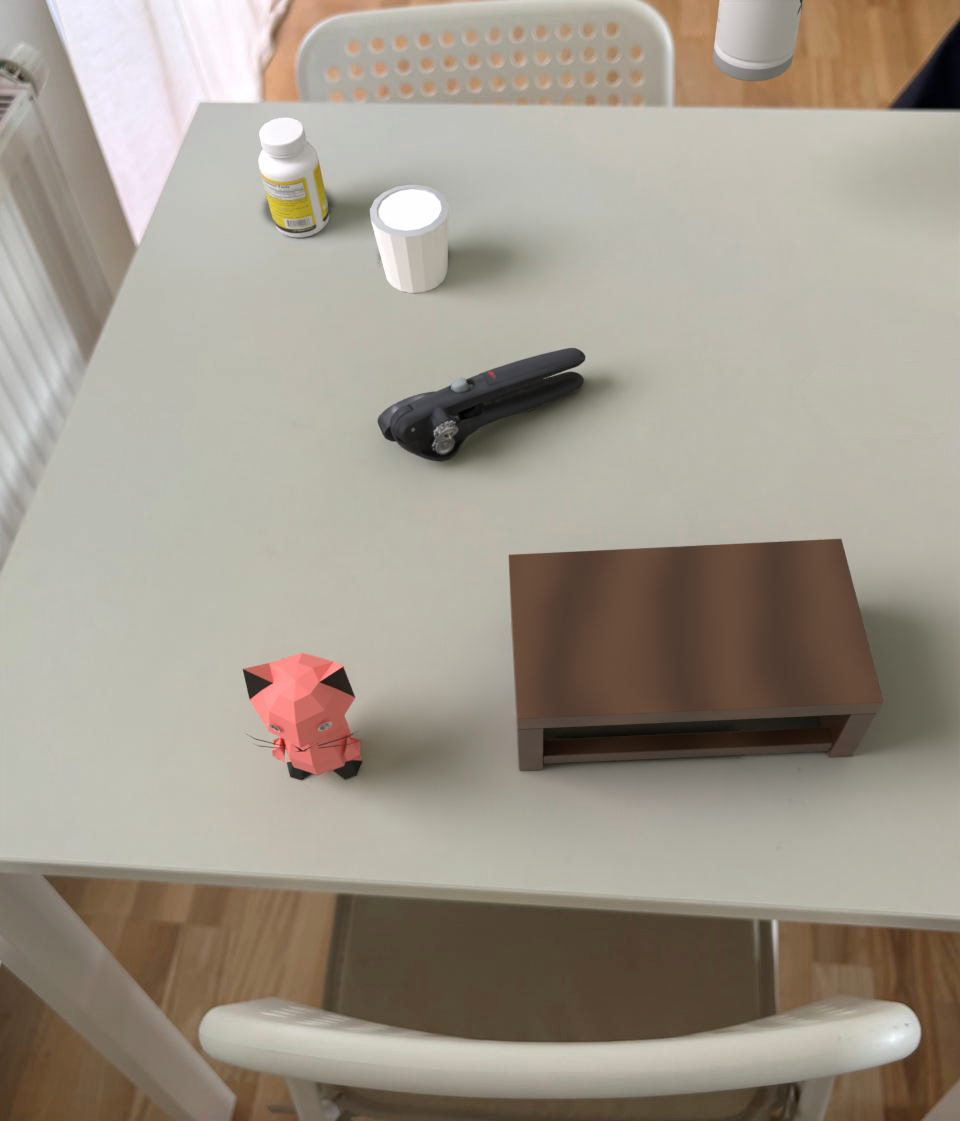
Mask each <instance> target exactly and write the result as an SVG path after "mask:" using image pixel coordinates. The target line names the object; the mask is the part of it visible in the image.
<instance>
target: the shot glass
mask: <svg viewBox="0 0 960 1121" xmlns="http://www.w3.org/2000/svg"><path fill="white" fill-rule="evenodd" d="M369 215H370V217H369V218H370V222H371V225H372V229H373V233H374V238H375V242H376V245H377V248H378V251H379V255H380V258H381V263H382V266H383V270H384V274H385V277H386V280H387V282H388V283H389V284H390V285H391V287H393V288H394V289H396V290H398V291H400V292H402V293H409V294H419V293H427V292H429V291H431V290H433V289H435V288H437V287H438V286H440V284H442V283H443V282H444V281H445V280H446V276H447V273H448V262H449V261H448V258H449V257H448V255H449V254H448V253H449V218H450V210H449V203H448V200H447V199H446V197H445V196H444V195H443V194H442V193H441V192H440V191H438V190H437V189H434V188H432V187H430V186H426V185H419V184H405V185H397V186H395V187H392V188H390V189H388V190H385V191H383V192H382V193H381V194H379V195H378V196H377V197H376V198H375V199H374V200H373V202H372V204H371V206H370V208H369Z"/></svg>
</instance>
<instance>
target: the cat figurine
mask: <svg viewBox="0 0 960 1121" xmlns="http://www.w3.org/2000/svg"><path fill="white" fill-rule="evenodd" d="M242 673H243V678H244V681H245V686H246V691H247V696H248V700H249V701H250V703H251V705H252V706H253V709H254V710H255V711H256V713H257V714H258V716H259V718H260V719H261V721H262V723H263V724H264V726H265V727H266V729H267V731H268V732H269V733H271V734H273V735H275V736H277V737H278V738H275V739H273V741H272V742H271V741H267V740H264V739H259V738H255V737H253V736H252V735H250V734H248V733H245V732H244V734H246V735H247V736H249V737H250V738H251V739H254V740H255V741H259V742H264V743H268V744H272V745H273V746H268V745H258V744H256V743H254V745H255V746H257V747H261V748H270V749H271V748H272V750H271V753H272V757H273V758H276V760H279V761H281V762H283V763H285V756H286V753H287V756H288V760H287V761H286V765H287V769H288V773H289V777H290V778H292V779H295V780H299V781H303V780H305V779H306V778H308V777H309V776H310V775H312V774H314V775H316V776H319V775H323V774H326V773H328V772H331V771H332V772H334V773H335V774H336V775H338V776H339V777H340V778H341V779H343V780H348V779H351V778H354V777H356V776H358V774H359V771H360V769H361V766H362V764H363V759H362V756H361V744H362V743H361V742H360V739H358V738H356V737H353V736H352V735H354V734H356V733H357V732H358V730H356V731H354V732H352V731H351V729H350V726H349V723H348V722H347V718H346V714H347V712H348V710H349V709H350V707H351V705H353V703H354V701H355V699H356V695H355V693H354V690H353V687H352V685H351V682H350V679H349V677H348V675H347V674H348V673H347V672H346V669H345V666H344V665H342V664H340V663H338V662H336V661H334V660H330V659H326V658H323V657H319V656H315V655H312V654H308V653H305V652H300V653H297V654H294V655H290V656H287V657H285V658H281V659H278V660H275V661H271V662H268V663H263V664H259V665H254V666H250V667H249V666H248V667H245V668H242ZM248 742H250V741H248Z"/></svg>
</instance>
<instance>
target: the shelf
mask: <svg viewBox="0 0 960 1121" xmlns="http://www.w3.org/2000/svg"><path fill="white" fill-rule="evenodd" d="M508 574H509V575H508V576H509V578H508V580H509V598H510V599H509V601H510V602H509V603H510V621H511V622H510V623H511V624H510V625H511V642H512V660H513V661H512V662H513V680H514V682H513V684H514V701H515V719H516V720H515V721H516V739H517V740H516V743H517V760H518V771H519V772H523V771H524V772H526V771H527V772H528V771H543V770H544V764H561V763H562V764H563V763H564V764H565V763H585V762H586V763H588V762H607V761H608V762H609V761H610V762H611V761H632V760H653V759H656V760H657V759H676V758H677V759H678V758H697V757H701V758H702V757H720V756H725V757H726V756H743V755H747V756H748V755H769V754H789V753H790V754H791V753H792V754H793V753H814V752H826V754H827V757H828V758H845V757H846V758H847V757H853V755H854V754H855V752H856V751H857V749H858V747H859V745H860V744H861V742H862V740H863V739H864V737H865V735H866V733H867V732H868V730H869V728H870V726H871V724H872V723H873V721H874V720H875V718H876V716H877V715H878V712H879V711H880V709H881V707H882V706H883V704H884V698H883V694H882V689H881V687H880V683H879V679H878V675H877V671H876V667H875V662H874V659H873V654H872V651H871V648H870V644H869V640H868V636H867V631H866V629H865V628H866V627H865V625H864V621H863V617H862V613H861V610H860V605H859V601H858V597H857V594H856V589H855V585H854V582H853V578H852V574H851V570H850V566H849V562H848V559H847V555H846V551H845V547H844V543H843V539H842V538H825V539H806V540H784V541H782V540H781V541H763V542H743V543H741V542H740V543H725V544H720V543H719V544H702V545H701V544H699V545H682V546H681V545H680V546H661V547H658V546H657V547H642V548H641V547H638V548H620V549H599V550H579V551H557V552H556V551H555V552H537V553H535V552H534V553H515V554H508ZM798 717H819V721H820V727H800V728H798V727H797V728H780V729H756V730H755V729H754V730H734V731H732V730H731V731H712V732H711V731H710V732H690V733H689V732H687V733H666V734H664V733H663V734H644V735H642V734H641V735H622V736H621V735H620V736H619V735H618V736H601V737H599V736H598V737H597V736H596V737H579V738H556V739H544V729H553V728H554V729H555V728H575V727H576V728H577V727H596V726H597V727H599V726H619V725H620V726H622V725H640V724H641V725H643V724H661V723H684V722H685V723H687V722H707V721H729V720H730V721H732V720H753V719H754V720H755V719H774V718H776V719H777V718H798Z"/></svg>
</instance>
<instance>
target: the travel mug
mask: <svg viewBox="0 0 960 1121" xmlns="http://www.w3.org/2000/svg"><path fill="white" fill-rule="evenodd" d="M804 1H805V0H719V1H718V2H719V3H718V11H717V20H716V27H715V36H714V37H715V39H714V44H713V52H712V61H713V63H714V64H715V67H716V68H717V69H718V70H719V71H720V72H721V73H722V74H724V75H726V76H728V77H729V78H732V79H735V80H738V81H743V82H765V81H769V80H772V79H775V78H777V77H781V75H783V74H784V73H786V72H787V71H788V69H790V67H791V66H792V63H793V59H794V55H795V50H796V42H797V40H798V35H799V34H798V33H799V28H800V22H801V18H802V12H803V6H804Z"/></svg>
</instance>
